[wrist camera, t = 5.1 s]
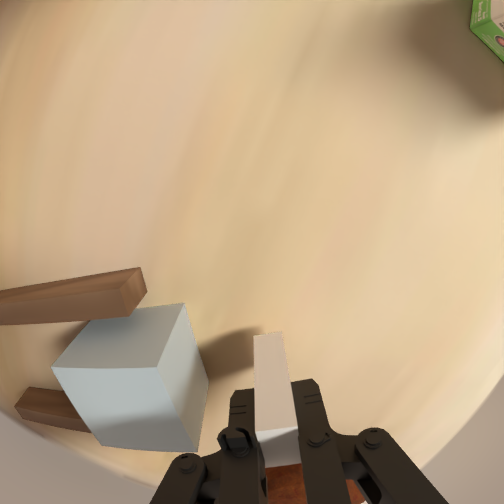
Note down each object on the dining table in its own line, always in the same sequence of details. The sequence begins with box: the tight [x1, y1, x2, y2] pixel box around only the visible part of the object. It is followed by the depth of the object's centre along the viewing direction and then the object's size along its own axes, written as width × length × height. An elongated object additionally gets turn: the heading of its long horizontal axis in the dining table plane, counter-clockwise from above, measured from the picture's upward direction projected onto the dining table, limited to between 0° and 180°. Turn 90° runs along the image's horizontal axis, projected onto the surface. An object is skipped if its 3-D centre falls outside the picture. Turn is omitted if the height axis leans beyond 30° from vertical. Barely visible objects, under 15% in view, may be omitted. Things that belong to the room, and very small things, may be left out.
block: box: [51, 303, 209, 452], centre depth 15 cm, size 6×6×6 cm
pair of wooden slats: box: [0, 267, 147, 433], centre depth 16 cm, size 11×16×3 cm
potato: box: [265, 463, 365, 504], centre depth 18 cm, size 7×9×6 cm
